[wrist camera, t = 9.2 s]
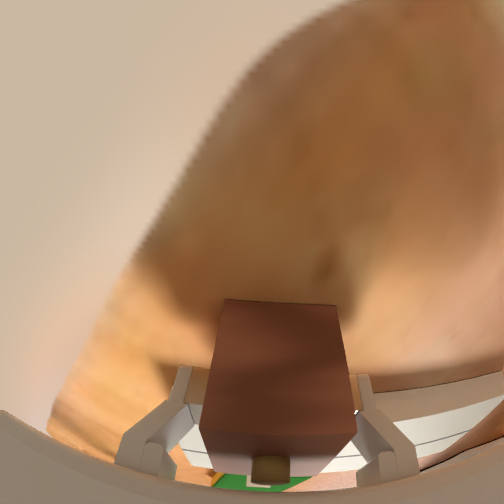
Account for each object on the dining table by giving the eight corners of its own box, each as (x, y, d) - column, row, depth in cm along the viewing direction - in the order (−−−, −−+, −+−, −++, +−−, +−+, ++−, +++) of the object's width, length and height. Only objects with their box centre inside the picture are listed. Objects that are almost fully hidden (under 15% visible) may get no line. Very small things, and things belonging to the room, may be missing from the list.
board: (501, 370, 13) (511, 392, 11) (439, 433, 18) (443, 451, 16) (172, 384, 14) (163, 416, 12) (196, 444, 19) (191, 465, 17)
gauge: (335, 305, 10) (361, 458, 5) (289, 437, 17) (288, 510, 12) (225, 299, 10) (193, 455, 5) (232, 434, 17) (223, 507, 12)
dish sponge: (313, 453, 20) (314, 477, 18) (268, 482, 27) (267, 498, 25) (233, 446, 20) (230, 471, 18) (212, 475, 27) (209, 491, 25)
